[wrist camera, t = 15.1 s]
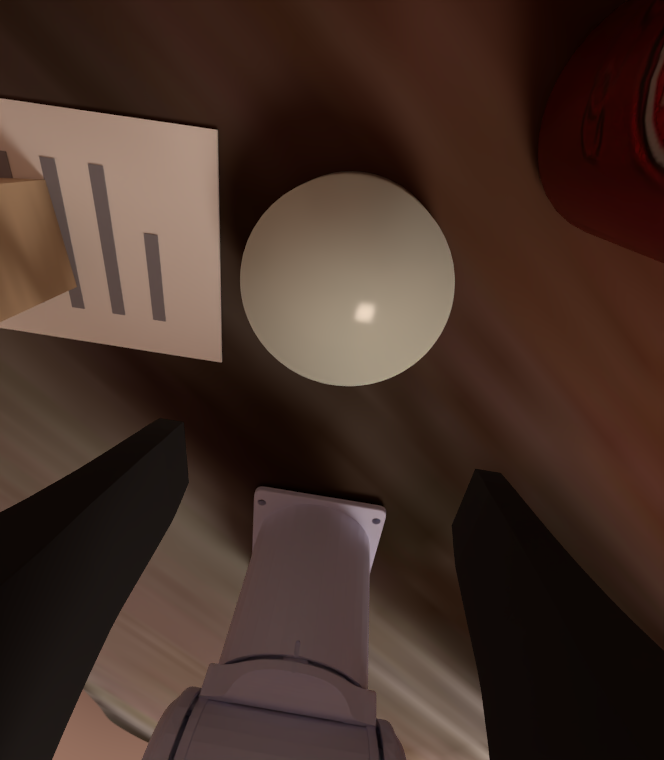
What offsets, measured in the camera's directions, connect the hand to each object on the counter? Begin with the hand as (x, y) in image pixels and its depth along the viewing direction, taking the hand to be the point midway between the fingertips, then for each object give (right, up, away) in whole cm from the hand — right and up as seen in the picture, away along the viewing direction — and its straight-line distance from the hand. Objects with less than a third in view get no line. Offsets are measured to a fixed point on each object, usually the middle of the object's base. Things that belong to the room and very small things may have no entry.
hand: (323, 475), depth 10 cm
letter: (-12, +9, +8) cm, 16 cm away
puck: (+1, +7, +8) cm, 10 cm away
